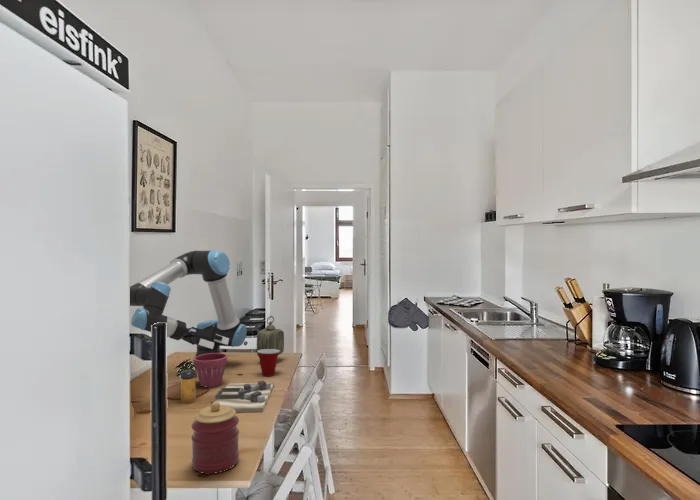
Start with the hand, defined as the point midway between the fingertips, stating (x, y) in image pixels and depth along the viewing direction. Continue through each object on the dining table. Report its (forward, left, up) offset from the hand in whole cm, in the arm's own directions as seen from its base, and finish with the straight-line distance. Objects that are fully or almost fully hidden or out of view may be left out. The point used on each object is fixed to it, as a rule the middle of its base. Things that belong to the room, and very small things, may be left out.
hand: (220, 343), depth 182 cm
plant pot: (-11, -7, -21) cm, 25 cm away
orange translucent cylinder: (+10, -10, -21) cm, 25 cm away
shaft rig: (+8, +12, -21) cm, 25 cm away
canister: (+61, +15, -21) cm, 66 cm away
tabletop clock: (-47, +15, -21) cm, 54 cm away
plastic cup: (-25, +17, -21) cm, 37 cm away
